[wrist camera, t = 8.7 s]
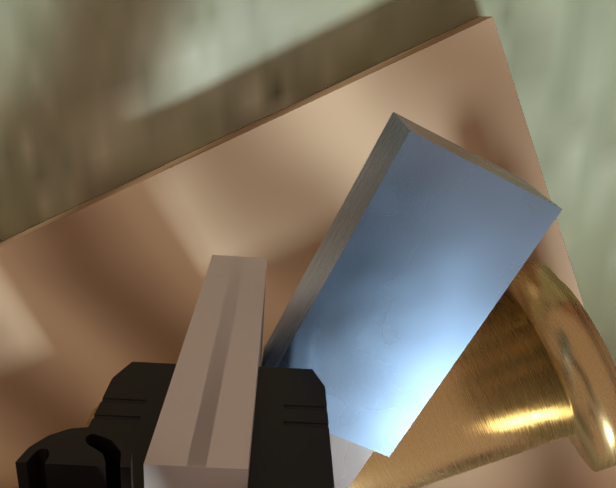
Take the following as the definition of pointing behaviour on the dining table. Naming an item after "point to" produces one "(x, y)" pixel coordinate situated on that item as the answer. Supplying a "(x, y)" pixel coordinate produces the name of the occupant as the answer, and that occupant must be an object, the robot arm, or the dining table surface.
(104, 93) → the dining table surface
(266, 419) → the robot arm
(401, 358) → the lever
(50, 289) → the board
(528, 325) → the valve body
